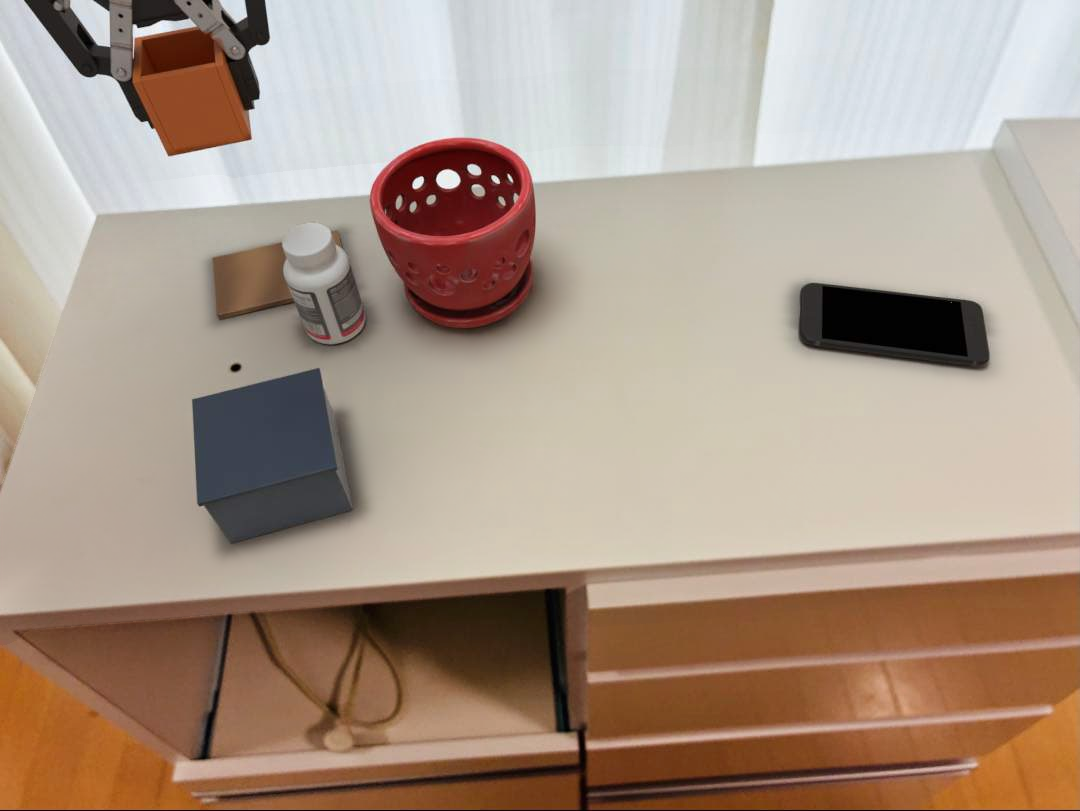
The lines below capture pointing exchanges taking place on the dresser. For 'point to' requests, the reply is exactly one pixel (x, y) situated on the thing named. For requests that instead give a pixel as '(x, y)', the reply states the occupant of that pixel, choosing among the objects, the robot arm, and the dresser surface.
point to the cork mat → (252, 280)
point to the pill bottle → (322, 284)
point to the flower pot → (458, 230)
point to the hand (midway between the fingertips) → (203, 111)
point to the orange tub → (188, 91)
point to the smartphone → (893, 324)
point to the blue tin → (269, 456)
